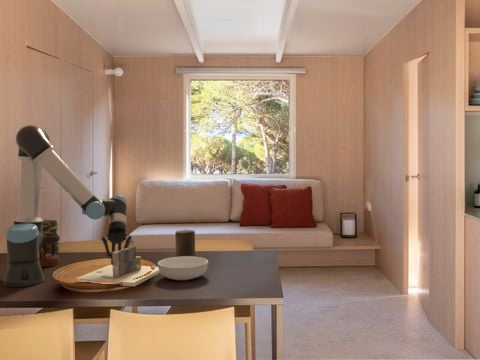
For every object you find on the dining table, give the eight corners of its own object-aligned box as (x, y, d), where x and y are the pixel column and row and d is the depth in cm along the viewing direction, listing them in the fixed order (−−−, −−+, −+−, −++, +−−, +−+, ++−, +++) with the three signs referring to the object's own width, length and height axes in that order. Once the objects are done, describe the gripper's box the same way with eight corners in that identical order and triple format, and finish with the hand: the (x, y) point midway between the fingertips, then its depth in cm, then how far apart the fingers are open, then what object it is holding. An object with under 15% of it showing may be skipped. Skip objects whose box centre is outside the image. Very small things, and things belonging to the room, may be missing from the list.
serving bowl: (161, 286, 176) (160, 269, 176) (155, 274, 196) (155, 258, 196) (213, 281, 182) (213, 264, 182) (202, 269, 202) (202, 254, 202)
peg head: (135, 267, 201) (134, 244, 200) (142, 268, 199) (142, 244, 199) (111, 277, 185) (110, 252, 184) (119, 277, 183) (118, 252, 183)
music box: (45, 268, 210) (44, 225, 209) (27, 267, 214) (26, 224, 213) (69, 261, 224) (67, 221, 223) (52, 260, 228) (50, 220, 227)
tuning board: (134, 286, 177) (134, 282, 177) (75, 282, 185) (75, 278, 185) (164, 270, 202) (164, 266, 202) (111, 267, 210) (111, 263, 210)
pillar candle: (190, 261, 220) (189, 230, 219) (172, 259, 223) (171, 229, 222) (198, 257, 229) (198, 227, 228) (181, 256, 232) (180, 226, 232)
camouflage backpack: (61, 252, 246) (59, 218, 245) (52, 256, 238) (51, 220, 238) (44, 252, 248) (43, 218, 247) (36, 255, 240) (34, 220, 239)
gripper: (132, 229, 207) (132, 275, 192) (103, 231, 205) (100, 277, 189) (131, 219, 202) (131, 265, 186) (101, 221, 199) (98, 267, 184)
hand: (115, 271), depth 188 cm, fingers closed
